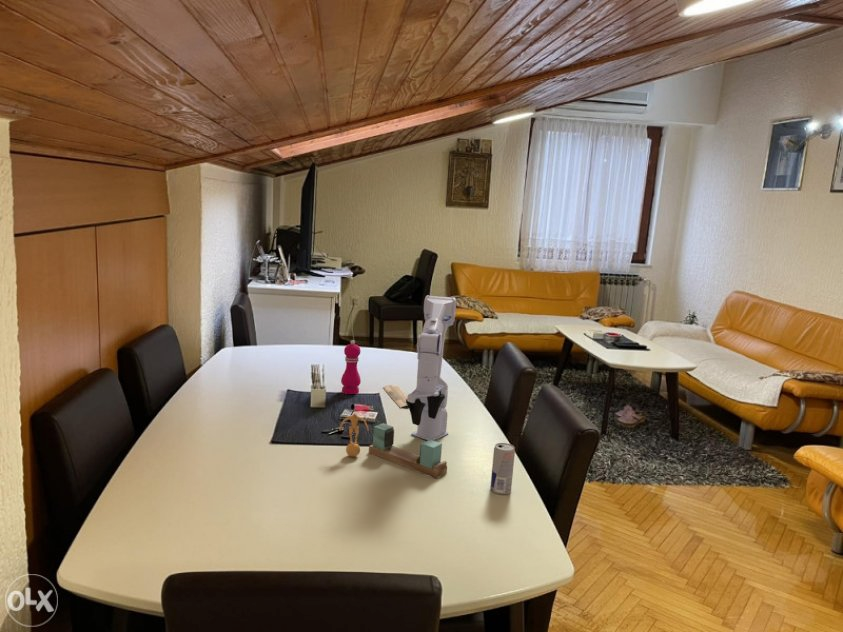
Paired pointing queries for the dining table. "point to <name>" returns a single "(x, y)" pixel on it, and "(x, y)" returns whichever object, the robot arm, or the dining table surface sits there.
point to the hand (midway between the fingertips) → (424, 421)
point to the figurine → (354, 448)
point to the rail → (400, 452)
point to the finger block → (430, 453)
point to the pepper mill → (351, 369)
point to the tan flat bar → (396, 395)
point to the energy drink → (502, 468)
